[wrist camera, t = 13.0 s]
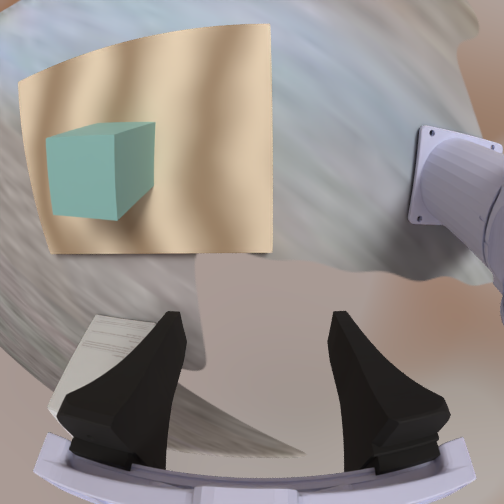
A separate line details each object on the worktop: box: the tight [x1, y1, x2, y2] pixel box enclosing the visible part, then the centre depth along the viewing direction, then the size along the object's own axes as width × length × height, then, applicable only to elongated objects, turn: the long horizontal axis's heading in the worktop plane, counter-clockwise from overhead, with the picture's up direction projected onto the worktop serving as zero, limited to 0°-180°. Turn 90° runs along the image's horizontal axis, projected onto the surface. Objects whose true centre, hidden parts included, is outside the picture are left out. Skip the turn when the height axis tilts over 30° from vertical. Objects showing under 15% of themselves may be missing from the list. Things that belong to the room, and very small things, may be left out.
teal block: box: [46, 122, 156, 221], centre depth 16 cm, size 4×4×6 cm
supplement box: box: [47, 315, 156, 437], centre depth 24 cm, size 7×7×13 cm
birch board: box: [18, 24, 273, 254], centre depth 19 cm, size 20×16×2 cm
